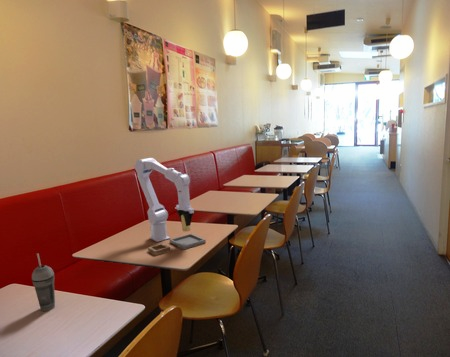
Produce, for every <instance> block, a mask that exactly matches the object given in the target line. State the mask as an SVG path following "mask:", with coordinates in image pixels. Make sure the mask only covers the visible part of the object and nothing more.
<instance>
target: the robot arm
mask: <svg viewBox="0 0 450 357" xmlns="http://www.w3.org/2000/svg"><path fill="white" fill-rule="evenodd" d="M134 163H135V164H134V166H133V167H134V170H135V171H136V174H137V179H138V181H139V185H140V187H141V190H142V192H143V194H144V196H145V199H146V202H147V204H148V207H149V208H148V210H147V216H148V217H147V218H148V221H149V223H150V225H149V229H150V236H149V238H150V239H151V240H153V241H155V242H157V243H158V242H161V241H165V240H168V239H169V240H170V239H171V237H170V236H168V232H167V231H168V230H167V219H168V217H169V213H168V211H167V210H166V209H165V206H164V205H163V204H161V203H160V202H159V200H158V197H157V194H156V192H155V189H154V187H153V184H152V182H151V180H150V174H151V173H152V171H154V170H155V171H156V172H159V173H160V174H162V175H164V178H165V179H166V180H169V181H171V182H172V183H174V186H175V188H176V190H177V198H178V199H177V200H178V204H176V205H175V209H177V210H176V213H177V215H178V217H179V220H180V223H181V224H182V220H181V215H183V216H184V218H185V223H186V226H189V225H190V226H191V223H192V218H193V216H194V213H195V209H194V208H193V207H192V206H191V200H190V198H191V196H190V188H189V187H190V186H189V185H190V184H191V176H189V174H187V173H182V172H181V171H180V172H179V171H178V170H175V168H174V167H169V168H167V167H166V166H165V165H162V163H160V162H158V161H157V160H156V159H155V158H154V157H147V158H142V159H140V158H139V159H137V160H136V161H135V162H134Z"/></svg>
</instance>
